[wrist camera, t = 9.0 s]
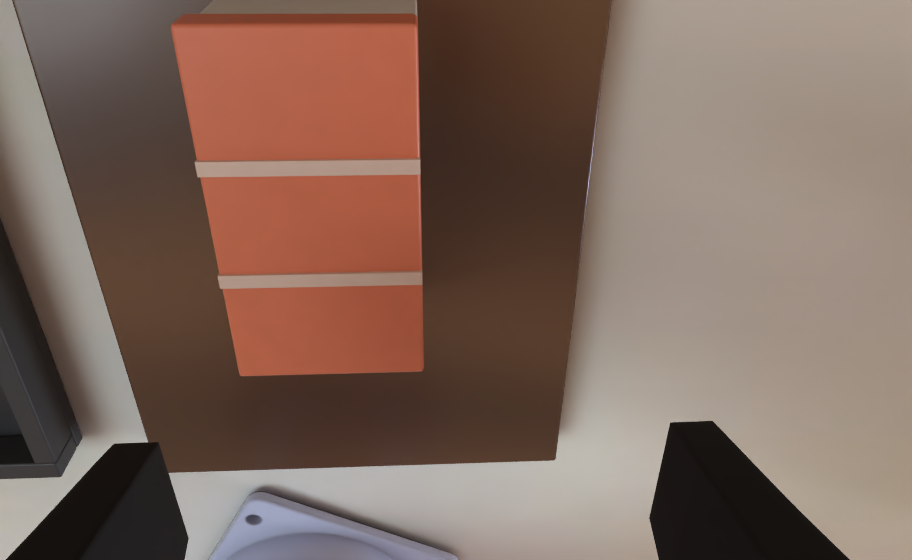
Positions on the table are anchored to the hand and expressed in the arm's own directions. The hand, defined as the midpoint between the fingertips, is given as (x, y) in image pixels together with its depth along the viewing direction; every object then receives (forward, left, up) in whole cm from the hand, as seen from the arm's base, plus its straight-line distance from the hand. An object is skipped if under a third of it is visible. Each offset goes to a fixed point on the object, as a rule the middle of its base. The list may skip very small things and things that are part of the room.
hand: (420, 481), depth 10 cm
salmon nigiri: (0, +2, -8) cm, 8 cm away
